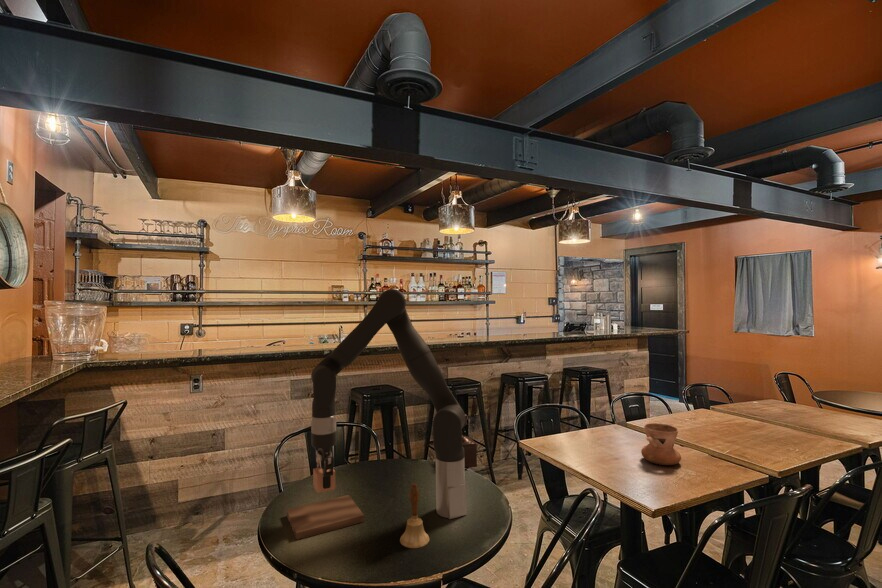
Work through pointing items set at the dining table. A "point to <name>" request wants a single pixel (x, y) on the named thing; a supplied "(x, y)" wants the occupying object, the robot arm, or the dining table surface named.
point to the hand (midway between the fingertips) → (324, 484)
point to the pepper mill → (469, 450)
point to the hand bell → (414, 524)
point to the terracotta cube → (319, 480)
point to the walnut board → (324, 516)
